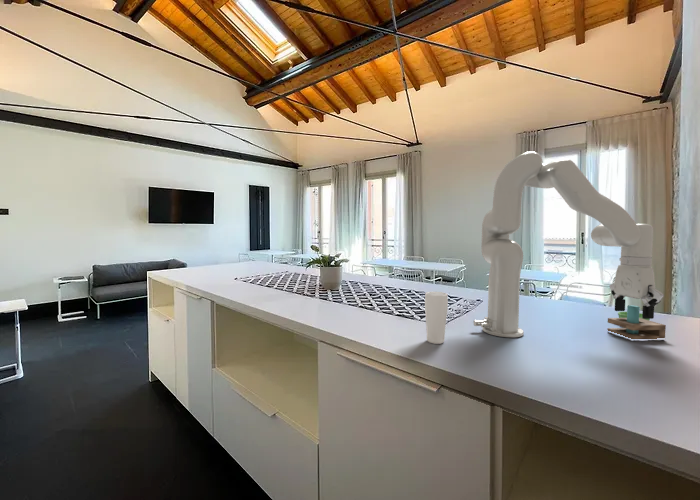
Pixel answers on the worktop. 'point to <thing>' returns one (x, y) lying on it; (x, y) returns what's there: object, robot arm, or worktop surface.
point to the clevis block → (638, 328)
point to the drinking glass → (436, 316)
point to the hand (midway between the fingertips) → (633, 314)
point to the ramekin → (624, 315)
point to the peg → (632, 317)
